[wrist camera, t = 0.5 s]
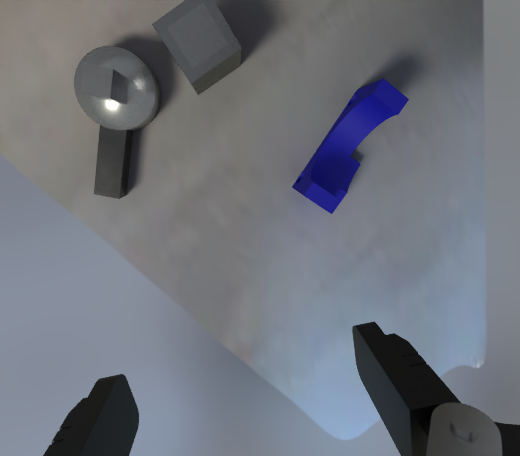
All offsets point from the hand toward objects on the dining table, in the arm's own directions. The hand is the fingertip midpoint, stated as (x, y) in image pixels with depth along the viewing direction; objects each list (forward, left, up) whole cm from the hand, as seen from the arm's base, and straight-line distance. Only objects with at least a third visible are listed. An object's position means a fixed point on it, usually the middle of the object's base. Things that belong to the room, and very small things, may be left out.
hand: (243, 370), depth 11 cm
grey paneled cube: (-15, -6, -25) cm, 30 cm away
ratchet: (-7, -13, -25) cm, 29 cm away
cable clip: (-9, +10, -25) cm, 29 cm away
